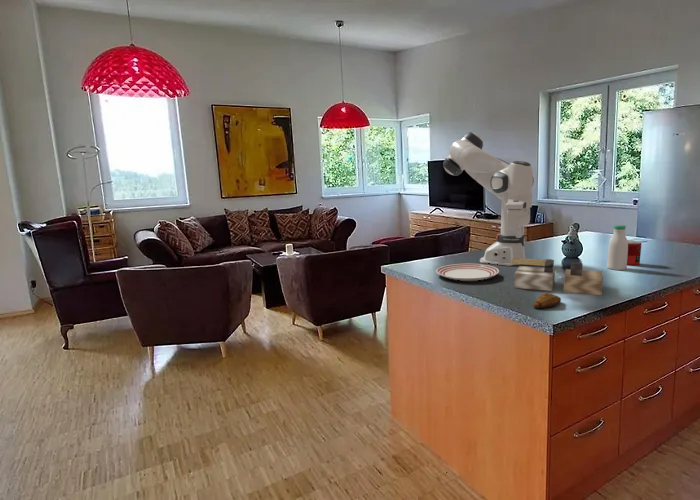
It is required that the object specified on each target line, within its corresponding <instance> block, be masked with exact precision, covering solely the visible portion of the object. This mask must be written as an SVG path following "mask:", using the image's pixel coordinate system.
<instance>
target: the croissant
mask: <svg viewBox="0 0 700 500" xmlns="http://www.w3.org/2000/svg"><path fill="white" fill-rule="evenodd" d="M561 300H562V298H561V297H560V296H558V295H556V294H553V293H551V292H544V293H541V294H540V295H538V297H537V298H536V299H535V301H534V302H533V308H534V309H546V308H552V307H555V306H558V305H559V304H560V303H561Z"/></svg>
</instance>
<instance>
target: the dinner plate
mask: <svg viewBox="0 0 700 500" xmlns="http://www.w3.org/2000/svg"><path fill="white" fill-rule="evenodd" d="M435 272H436V274H438V275H439V276H441V277H444V278H446V279H449V280H452V279H453V280H452V281H457V280H460V281H459V282H479V281H478V280H481V281H484V279H485V280H487V279H491V278H493V277H495V276H497V275H498V274H499V273H500V270H499V269H498V267H496V266H492V265H490V264H483V263H482V264H481V263H453V264H448V265H442V266H440V267H438V268H437V269H436V270H435Z"/></svg>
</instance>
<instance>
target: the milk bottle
mask: <svg viewBox="0 0 700 500" xmlns="http://www.w3.org/2000/svg"><path fill="white" fill-rule="evenodd" d="M626 227H627V226H626V225H625V224H615V225H613V234H612V235H611V237H610V239H609V243H608V247H607V249H608V250H607V261H606V262H607V263H606V266H607V267H606V268H607V269H609V270H614V271H615V270H616V271H624V270H625V271H626V269H627V267H628V265H627V255H628V241H627V240H628V239H627V236H626V233H625V231H626Z"/></svg>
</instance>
